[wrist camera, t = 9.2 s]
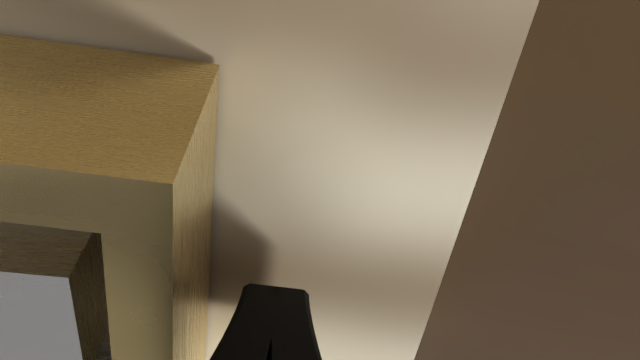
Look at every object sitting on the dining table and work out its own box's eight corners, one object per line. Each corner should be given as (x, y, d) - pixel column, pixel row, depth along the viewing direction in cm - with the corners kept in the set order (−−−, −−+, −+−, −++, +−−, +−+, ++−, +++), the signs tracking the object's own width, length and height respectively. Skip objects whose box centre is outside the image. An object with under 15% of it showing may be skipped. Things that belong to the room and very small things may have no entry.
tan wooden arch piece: (201, 427, 16) (172, 575, 13) (15, 408, 15) (-59, 555, 13) (220, 64, 10) (172, 184, 7) (-77, 23, 10) (-254, 131, 7)
